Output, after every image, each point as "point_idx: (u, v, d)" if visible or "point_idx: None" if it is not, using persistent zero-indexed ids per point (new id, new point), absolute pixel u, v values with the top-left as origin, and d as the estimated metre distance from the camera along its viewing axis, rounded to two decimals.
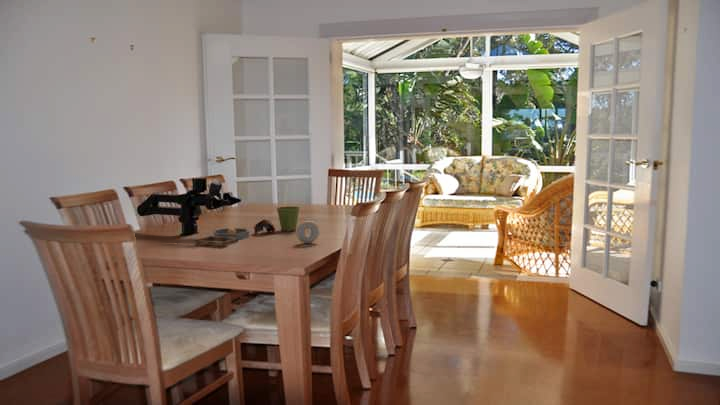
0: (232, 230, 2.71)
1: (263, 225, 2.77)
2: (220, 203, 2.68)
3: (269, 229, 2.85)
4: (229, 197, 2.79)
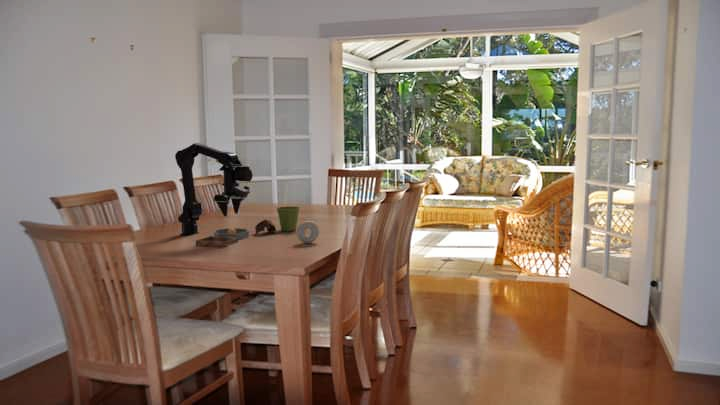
0: (232, 230, 2.71)
1: (264, 225, 2.77)
2: (223, 207, 2.66)
3: (270, 229, 2.85)
4: (238, 200, 2.75)
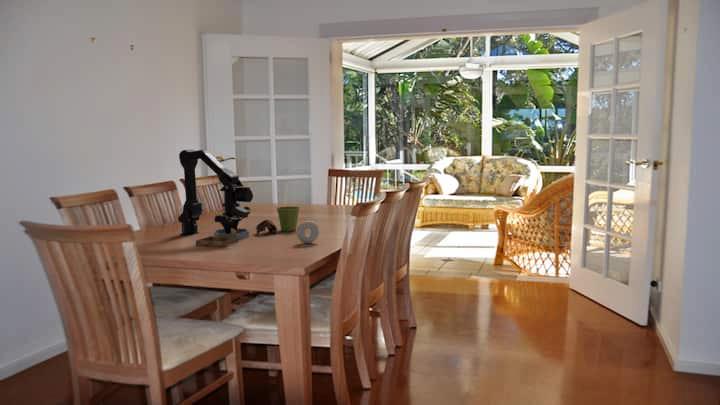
0: (232, 230, 2.71)
1: (265, 225, 2.77)
2: (226, 226, 2.69)
3: (271, 229, 2.85)
4: (236, 220, 2.74)
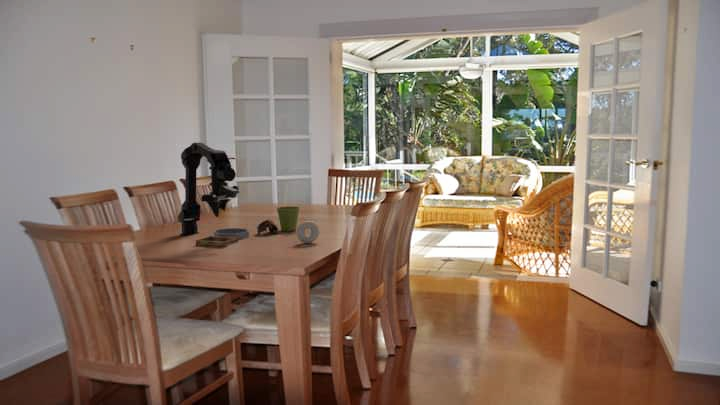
0: (220, 211, 2.57)
1: (266, 225, 2.76)
2: (214, 207, 2.55)
3: (272, 229, 2.85)
4: (224, 201, 2.60)
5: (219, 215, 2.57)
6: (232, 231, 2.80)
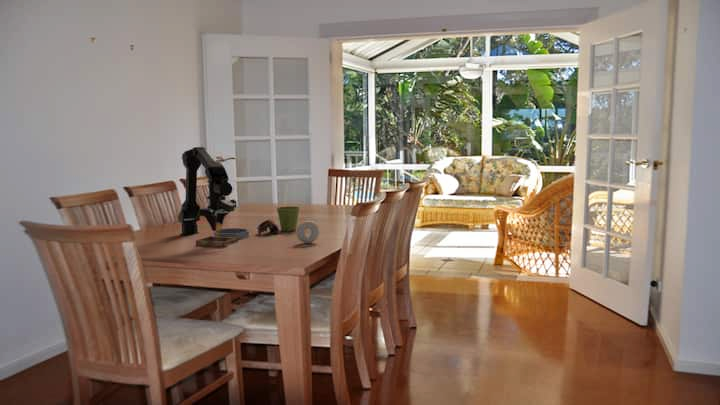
0: (217, 224, 2.56)
1: (267, 225, 2.76)
2: (211, 221, 2.54)
3: (273, 229, 2.84)
4: (222, 214, 2.59)
5: (216, 229, 2.56)
6: (232, 231, 2.80)
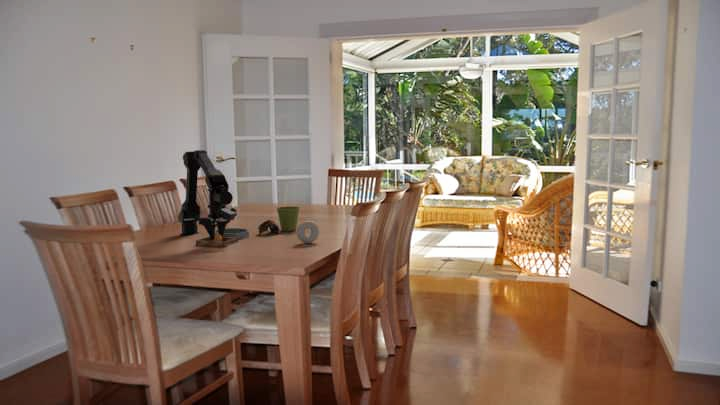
0: (218, 236, 2.56)
1: (268, 225, 2.76)
2: (210, 230, 2.53)
3: (273, 229, 2.84)
4: (223, 222, 2.60)
5: (217, 240, 2.56)
6: (232, 231, 2.80)
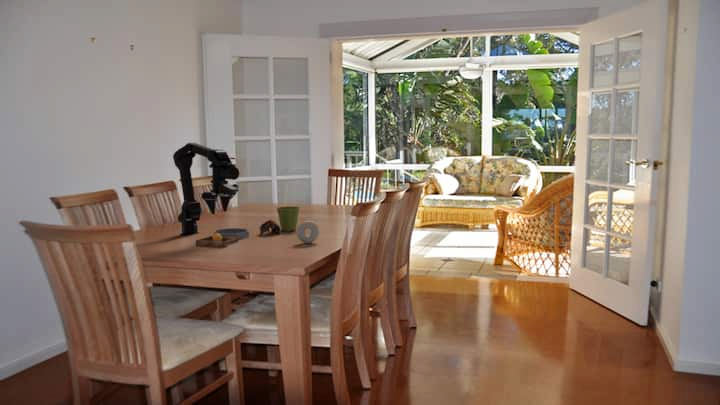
0: (218, 236, 2.56)
1: (269, 225, 2.76)
2: (210, 204, 2.63)
3: (274, 229, 2.84)
4: (227, 197, 2.72)
5: (217, 240, 2.56)
6: (232, 231, 2.80)
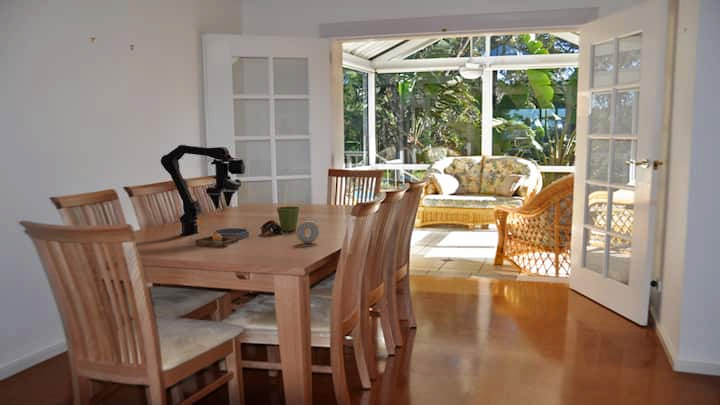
0: (218, 236, 2.56)
1: (271, 226, 2.75)
2: (215, 199, 2.74)
3: (276, 230, 2.84)
4: (230, 193, 2.83)
5: (217, 240, 2.56)
6: (232, 231, 2.80)
